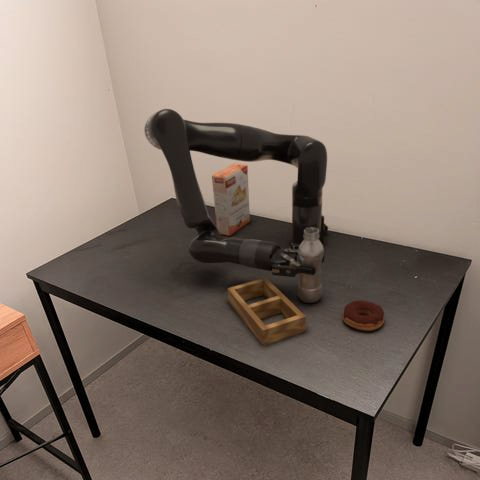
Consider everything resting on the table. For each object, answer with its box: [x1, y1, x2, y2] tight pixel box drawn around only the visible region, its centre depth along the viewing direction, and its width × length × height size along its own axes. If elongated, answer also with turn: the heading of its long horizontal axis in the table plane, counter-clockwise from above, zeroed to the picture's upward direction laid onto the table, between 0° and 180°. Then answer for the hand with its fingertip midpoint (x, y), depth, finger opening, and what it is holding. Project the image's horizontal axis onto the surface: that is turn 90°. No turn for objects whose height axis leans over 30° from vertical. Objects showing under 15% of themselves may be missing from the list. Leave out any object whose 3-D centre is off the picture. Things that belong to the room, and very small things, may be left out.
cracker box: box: [211, 163, 251, 237], centre depth 157 cm, size 14×6×21 cm, turn 148°
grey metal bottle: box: [297, 227, 325, 304], centre depth 116 cm, size 6×7×20 cm
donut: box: [342, 300, 385, 332], centre depth 111 cm, size 10×10×4 cm
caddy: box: [227, 277, 307, 346], centre depth 115 cm, size 11×21×4 cm, turn 24°
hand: (319, 264), depth 114 cm, fingers closed on grey metal bottle, 6 cm apart
